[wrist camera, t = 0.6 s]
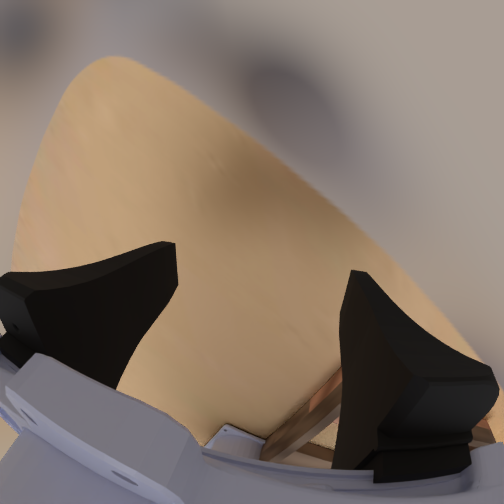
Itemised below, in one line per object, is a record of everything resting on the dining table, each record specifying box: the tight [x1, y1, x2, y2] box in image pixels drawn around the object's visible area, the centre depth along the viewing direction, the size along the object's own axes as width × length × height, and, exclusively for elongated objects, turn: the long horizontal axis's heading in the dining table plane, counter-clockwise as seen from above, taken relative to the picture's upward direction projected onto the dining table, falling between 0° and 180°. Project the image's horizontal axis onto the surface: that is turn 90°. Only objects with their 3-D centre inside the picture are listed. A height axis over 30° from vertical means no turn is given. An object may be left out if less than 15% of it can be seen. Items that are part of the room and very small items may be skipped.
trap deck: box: [259, 367, 496, 469], centre depth 25 cm, size 22×27×5 cm
